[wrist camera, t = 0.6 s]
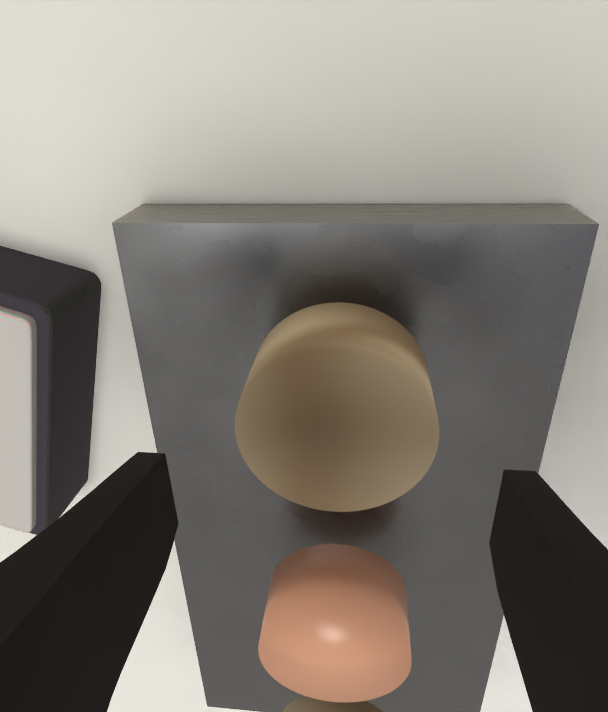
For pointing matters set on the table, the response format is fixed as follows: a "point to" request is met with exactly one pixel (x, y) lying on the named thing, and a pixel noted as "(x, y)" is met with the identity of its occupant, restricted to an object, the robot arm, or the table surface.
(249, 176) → the table surface
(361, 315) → the knob
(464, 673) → the knob panel
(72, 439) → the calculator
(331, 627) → the knob middle
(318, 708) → the knob
